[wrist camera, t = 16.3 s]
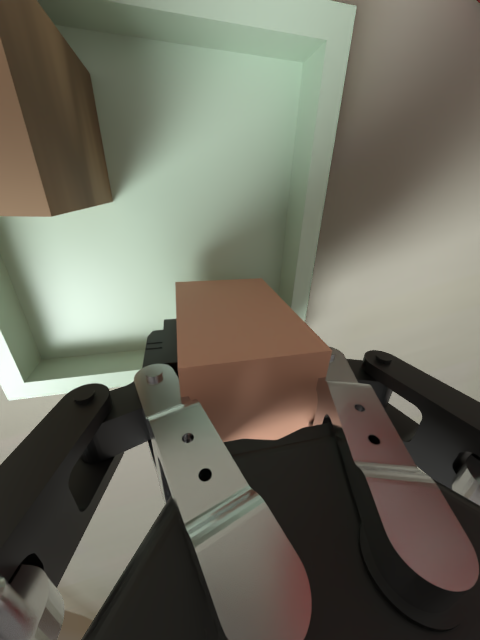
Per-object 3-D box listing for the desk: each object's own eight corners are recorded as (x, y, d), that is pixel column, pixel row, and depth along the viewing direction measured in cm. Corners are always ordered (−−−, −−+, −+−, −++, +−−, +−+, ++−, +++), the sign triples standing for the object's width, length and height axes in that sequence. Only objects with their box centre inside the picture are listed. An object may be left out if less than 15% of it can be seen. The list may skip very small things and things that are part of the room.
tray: (-140, -39, 8) (-261, -128, 6) (320, 41, 11) (356, 5, 9) (32, 369, 15) (8, 400, 13) (283, 343, 19) (297, 364, 16)
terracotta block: (175, 282, 13) (177, 368, 7) (261, 278, 14) (332, 350, 8) (182, 356, 15) (188, 474, 9) (256, 348, 16) (309, 449, 10)
